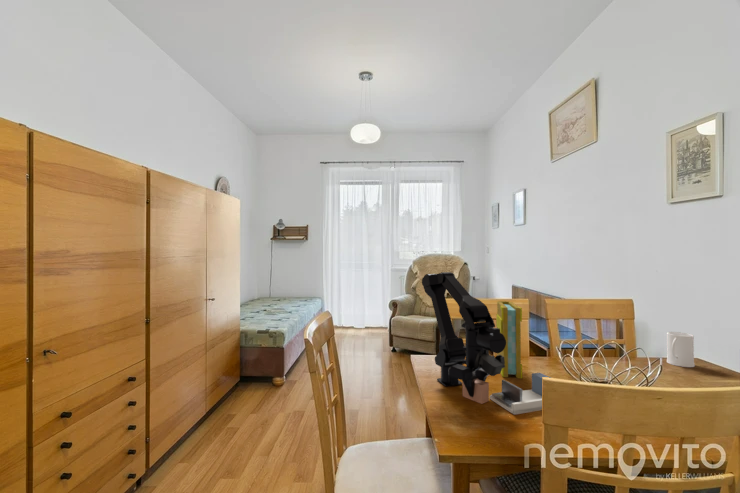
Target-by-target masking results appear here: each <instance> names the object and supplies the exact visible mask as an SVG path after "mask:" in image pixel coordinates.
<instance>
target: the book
mask: <svg viewBox="0 0 740 493" xmlns="http://www.w3.org/2000/svg"><path fill="white" fill-rule="evenodd" d="M496 307H497V308H496V309H497V310H496V318H495V319H496V325H495V327H496V328H499V329H500V333H501V334H503V335H504V337H505V340H506V346H505V348H504V350H503V351H502V352H500V353H496V354H497V355H502V356H503V357H504V360H505V364H504V365H505V367H504V368H502V370H501V373H500V375H501V377H502V378H509V375H514V376H515V377H516V379H523V363H521V362H522V358H521V357H522V356H521V352H522V347H521V345H522V344H521V343H522V342H521V339H522V338H521V322H523V318H522V317H523V308H522V307H521V306H518V304H515V303H514V302H513V301H505V300H504V301H503V300H500V301H496ZM497 355H496V356H497Z"/></svg>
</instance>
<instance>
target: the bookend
mask: <svg viewBox="0 0 740 493" xmlns="http://www.w3.org/2000/svg"><path fill="white" fill-rule="evenodd" d="M522 391H523V388H520V387H519V386H517V385H515V384H514V383H511V382H510V381H507V380H505V379H501V392H500V391H499V392H493V393H491V395H492V396H493V397H495V398H496V399H498V400H500V401H501V402H503V403H504V404H506V405H508V406H509V407H511V406H512V403H515V402H522Z"/></svg>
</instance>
